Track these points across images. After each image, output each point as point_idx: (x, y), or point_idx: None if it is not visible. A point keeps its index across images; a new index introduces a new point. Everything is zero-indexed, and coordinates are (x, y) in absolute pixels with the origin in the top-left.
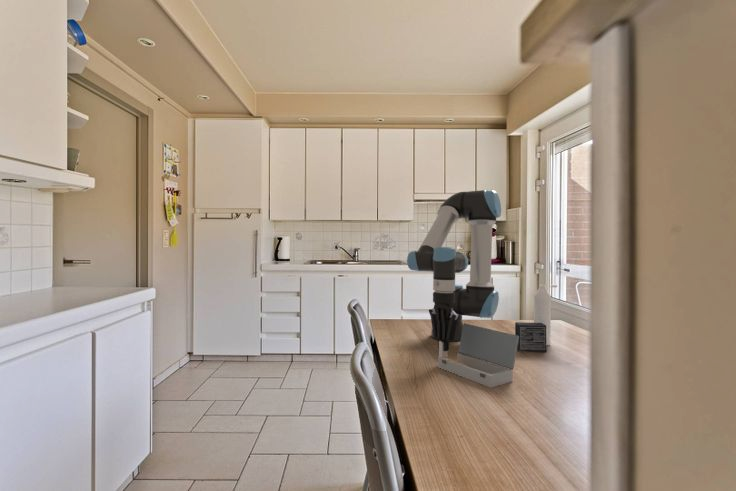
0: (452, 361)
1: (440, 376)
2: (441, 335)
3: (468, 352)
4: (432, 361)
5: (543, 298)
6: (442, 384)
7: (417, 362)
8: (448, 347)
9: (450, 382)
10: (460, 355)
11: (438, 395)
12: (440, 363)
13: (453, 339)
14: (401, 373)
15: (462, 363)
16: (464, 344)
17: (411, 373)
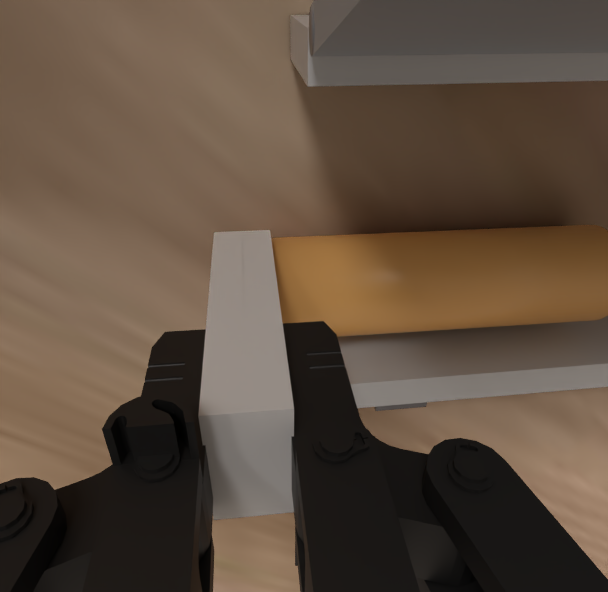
0: (501, 379)
1: (451, 428)
2: (120, 534)
3: (573, 48)
4: (88, 268)
5: None
6: (544, 481)
7: (66, 398)
8: (342, 360)
9: (565, 436)
10: (383, 82)
11: (603, 547)
12: None
13: (497, 455)
14: (255, 560)
15: (582, 298)
16: (506, 19)
17: (288, 525)
